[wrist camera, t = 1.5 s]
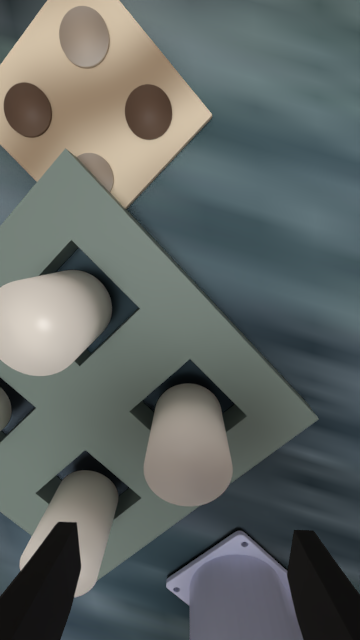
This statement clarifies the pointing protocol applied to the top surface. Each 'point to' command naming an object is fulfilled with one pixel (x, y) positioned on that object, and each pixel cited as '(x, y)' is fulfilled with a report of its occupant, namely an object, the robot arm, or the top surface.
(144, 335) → the grey-green board with holes
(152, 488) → the beige cylinder
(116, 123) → the tile
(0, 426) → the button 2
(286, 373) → the top surface
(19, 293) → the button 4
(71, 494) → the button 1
